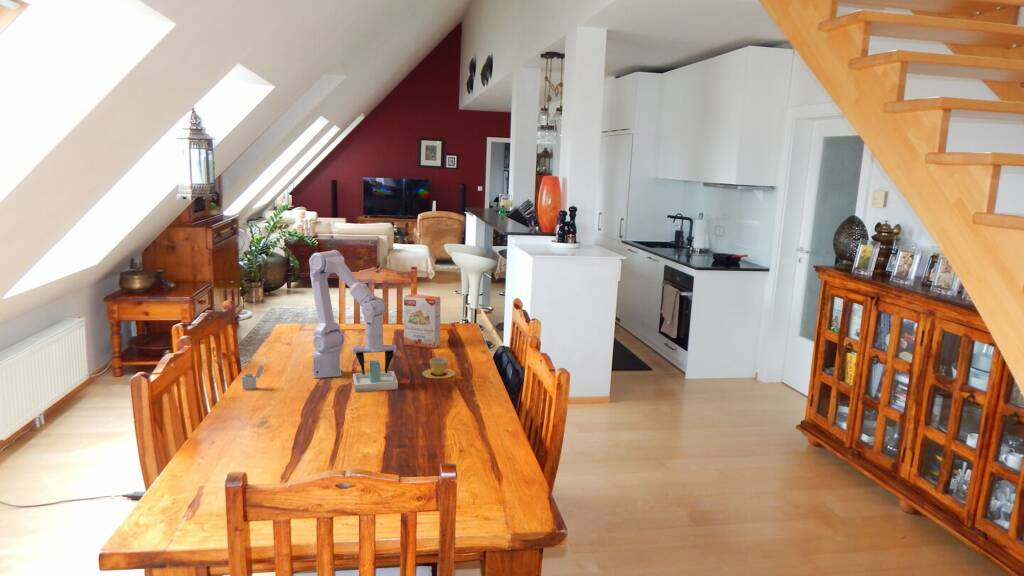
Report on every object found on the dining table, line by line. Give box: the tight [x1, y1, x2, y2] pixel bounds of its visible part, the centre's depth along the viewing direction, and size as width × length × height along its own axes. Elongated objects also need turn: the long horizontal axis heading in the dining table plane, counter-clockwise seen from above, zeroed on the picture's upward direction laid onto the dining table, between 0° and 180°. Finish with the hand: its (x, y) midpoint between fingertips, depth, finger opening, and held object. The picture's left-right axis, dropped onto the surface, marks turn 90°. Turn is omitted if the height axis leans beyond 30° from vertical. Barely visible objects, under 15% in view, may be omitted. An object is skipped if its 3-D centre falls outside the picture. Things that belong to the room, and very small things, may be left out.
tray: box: [352, 370, 399, 393], centre depth 238 cm, size 14×12×2 cm
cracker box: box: [403, 293, 441, 350], centre depth 285 cm, size 14×6×21 cm, turn 73°
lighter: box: [241, 364, 266, 390], centre depth 231 cm, size 7×2×8 cm, turn 99°
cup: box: [421, 357, 456, 380], centre depth 251 cm, size 12×12×5 cm
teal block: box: [369, 359, 381, 383], centre depth 237 cm, size 6×3×7 cm, turn 17°
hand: (374, 372), depth 238 cm, fingers open, 7 cm apart
